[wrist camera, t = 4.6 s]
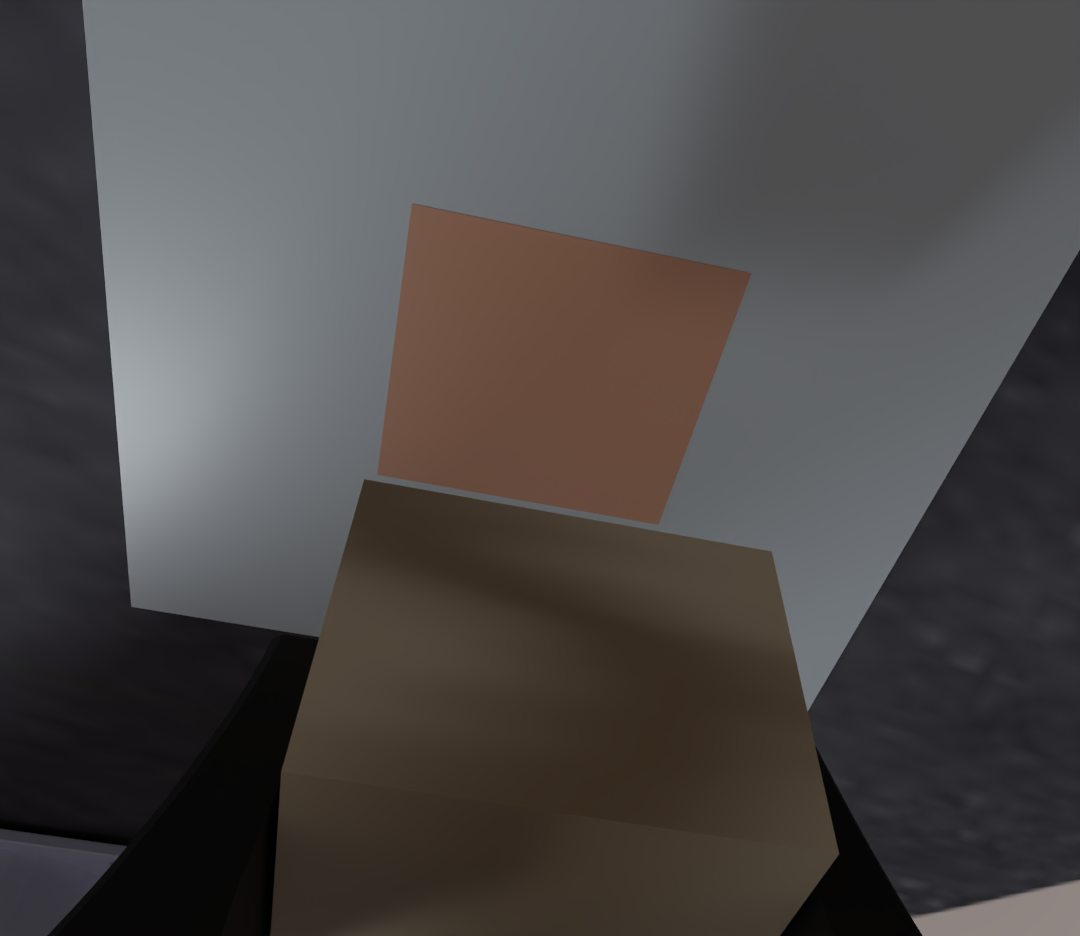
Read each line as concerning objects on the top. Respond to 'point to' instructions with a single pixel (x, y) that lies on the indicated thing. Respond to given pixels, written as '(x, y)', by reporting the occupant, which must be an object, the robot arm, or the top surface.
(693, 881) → the beech block
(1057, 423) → the top surface
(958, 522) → the top surface
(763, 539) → the baseplate
